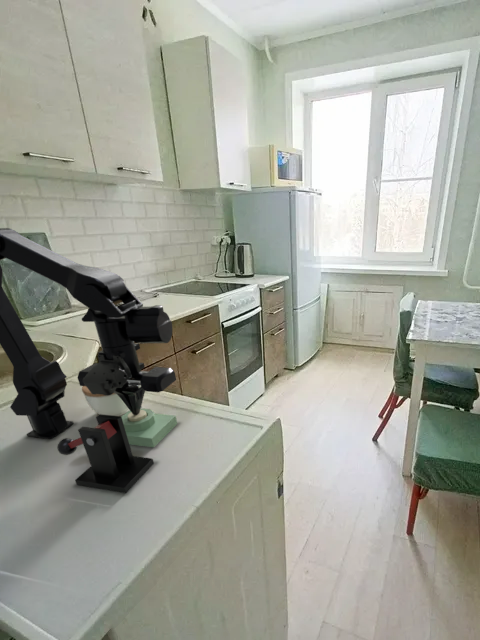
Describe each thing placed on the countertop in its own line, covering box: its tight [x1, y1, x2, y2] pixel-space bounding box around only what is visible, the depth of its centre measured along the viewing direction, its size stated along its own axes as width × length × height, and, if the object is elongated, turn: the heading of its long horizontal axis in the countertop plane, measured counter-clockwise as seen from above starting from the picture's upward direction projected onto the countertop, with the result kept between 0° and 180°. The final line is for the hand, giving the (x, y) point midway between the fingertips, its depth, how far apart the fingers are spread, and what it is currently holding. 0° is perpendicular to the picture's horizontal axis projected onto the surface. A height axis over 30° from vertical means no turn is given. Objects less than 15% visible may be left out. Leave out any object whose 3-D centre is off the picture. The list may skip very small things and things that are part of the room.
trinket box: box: [81, 386, 130, 416], centre depth 82 cm, size 11×11×9 cm
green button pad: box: [121, 408, 178, 448], centre depth 75 cm, size 12×9×4 cm
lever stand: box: [74, 414, 155, 494], centre depth 61 cm, size 10×8×11 cm
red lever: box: [56, 421, 117, 456], centre depth 61 cm, size 13×3×3 cm, turn 75°
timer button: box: [128, 410, 147, 422], centre depth 74 cm, size 4×4×2 cm
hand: (136, 414), depth 74 cm, fingers closed, pressing on timer button
